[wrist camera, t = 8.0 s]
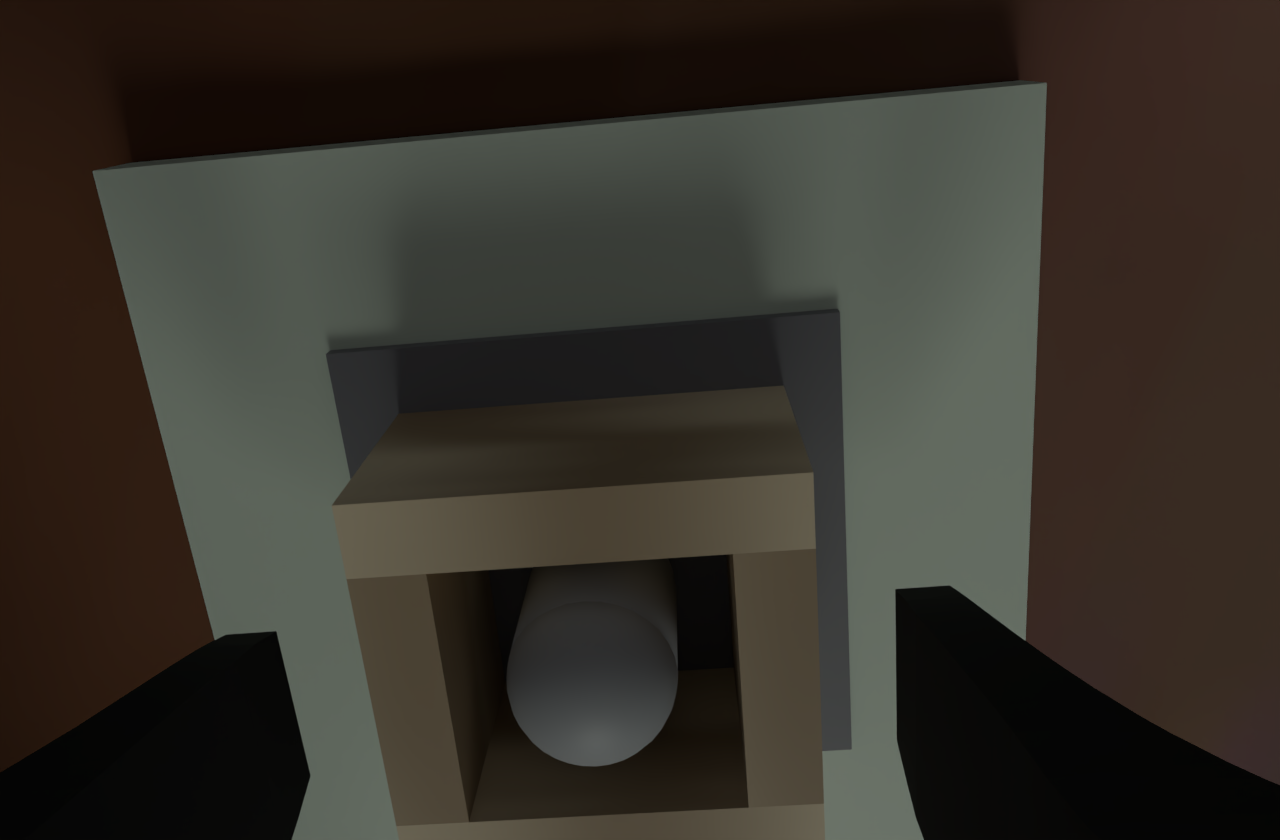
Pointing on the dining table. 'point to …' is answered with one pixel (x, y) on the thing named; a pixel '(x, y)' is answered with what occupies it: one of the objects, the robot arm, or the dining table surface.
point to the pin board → (606, 385)
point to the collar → (580, 534)
